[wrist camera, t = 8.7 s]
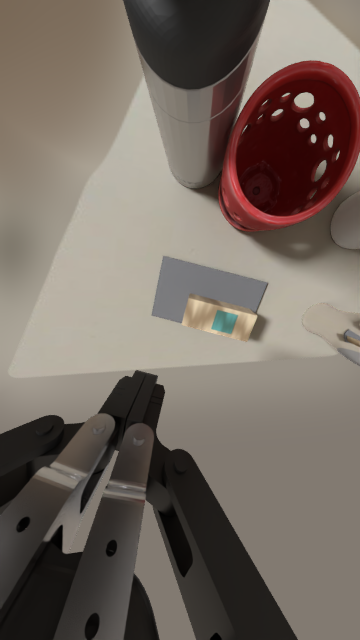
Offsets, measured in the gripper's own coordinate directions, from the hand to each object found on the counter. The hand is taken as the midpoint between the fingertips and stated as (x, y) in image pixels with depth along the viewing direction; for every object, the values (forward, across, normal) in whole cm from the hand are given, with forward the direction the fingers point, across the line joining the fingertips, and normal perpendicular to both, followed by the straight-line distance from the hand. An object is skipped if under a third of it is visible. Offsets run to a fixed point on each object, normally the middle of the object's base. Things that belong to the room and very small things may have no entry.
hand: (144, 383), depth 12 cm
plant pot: (+25, -8, -21) cm, 34 cm away
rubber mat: (+25, -5, -2) cm, 25 cm away
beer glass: (+25, -27, -4) cm, 37 cm away
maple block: (+22, -2, 0) cm, 22 cm away
